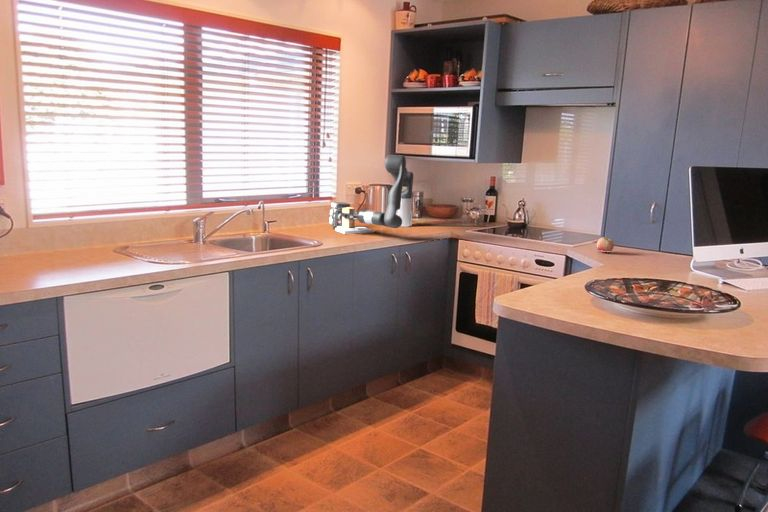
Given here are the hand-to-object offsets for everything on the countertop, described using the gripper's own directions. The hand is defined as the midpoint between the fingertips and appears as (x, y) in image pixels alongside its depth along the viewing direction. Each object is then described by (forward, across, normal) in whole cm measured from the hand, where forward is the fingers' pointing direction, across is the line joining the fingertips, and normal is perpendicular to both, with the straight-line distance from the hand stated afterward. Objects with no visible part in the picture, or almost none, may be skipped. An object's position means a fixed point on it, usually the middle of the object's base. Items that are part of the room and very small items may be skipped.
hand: (345, 213), depth 344 cm
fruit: (-128, -54, +10) cm, 139 cm away
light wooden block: (-2, 0, +8) cm, 9 cm away
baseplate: (-4, -4, +10) cm, 11 cm away
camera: (+10, -6, +10) cm, 15 cm away
